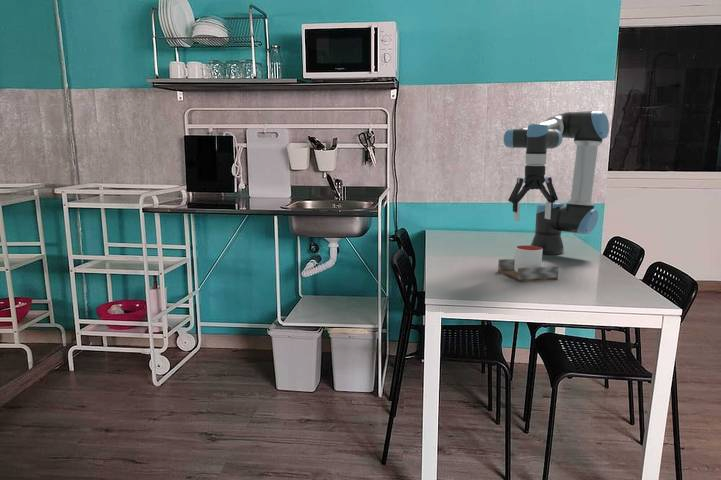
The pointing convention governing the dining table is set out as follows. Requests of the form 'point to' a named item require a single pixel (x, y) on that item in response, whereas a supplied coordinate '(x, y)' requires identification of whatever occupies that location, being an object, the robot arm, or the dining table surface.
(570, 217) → the robot arm
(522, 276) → the cradle
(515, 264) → the cup
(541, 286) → the dining table surface
